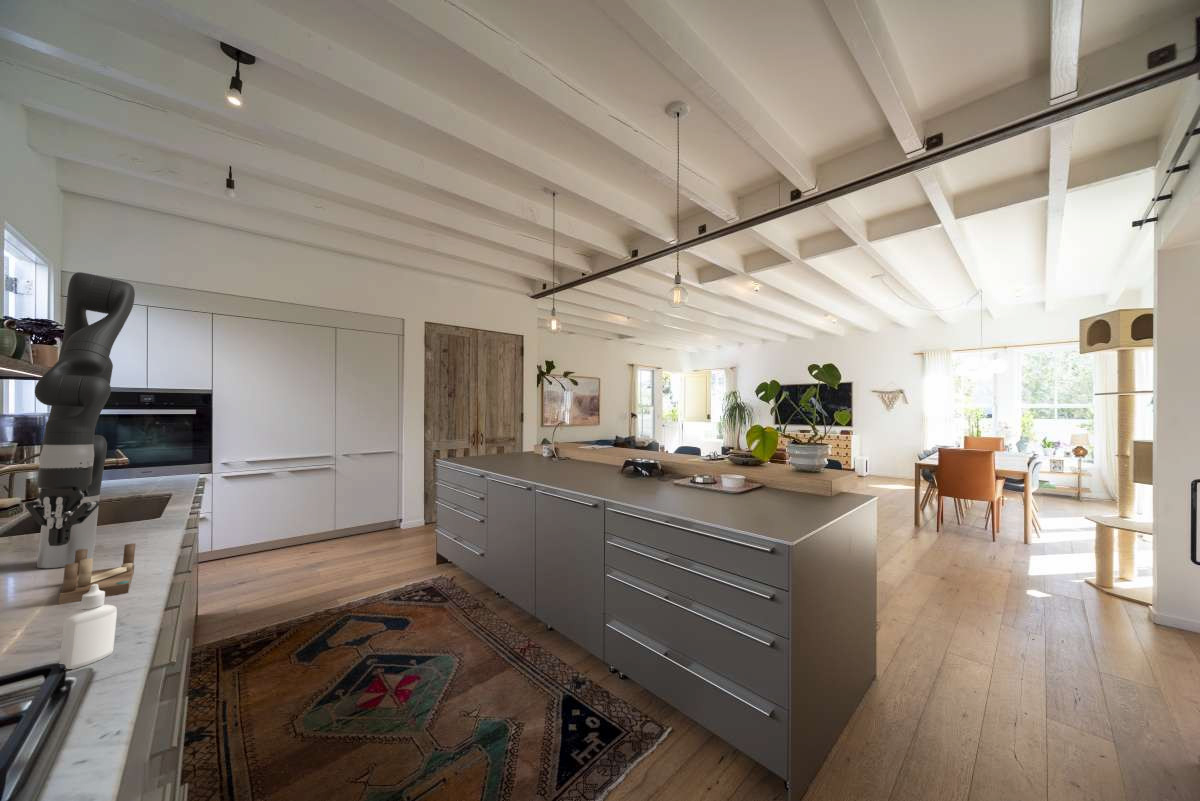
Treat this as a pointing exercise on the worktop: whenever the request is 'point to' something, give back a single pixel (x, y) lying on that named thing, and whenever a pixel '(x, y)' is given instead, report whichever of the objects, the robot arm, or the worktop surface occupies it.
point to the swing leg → (86, 572)
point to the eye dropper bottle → (89, 631)
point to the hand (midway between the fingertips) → (58, 545)
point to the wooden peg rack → (109, 585)
